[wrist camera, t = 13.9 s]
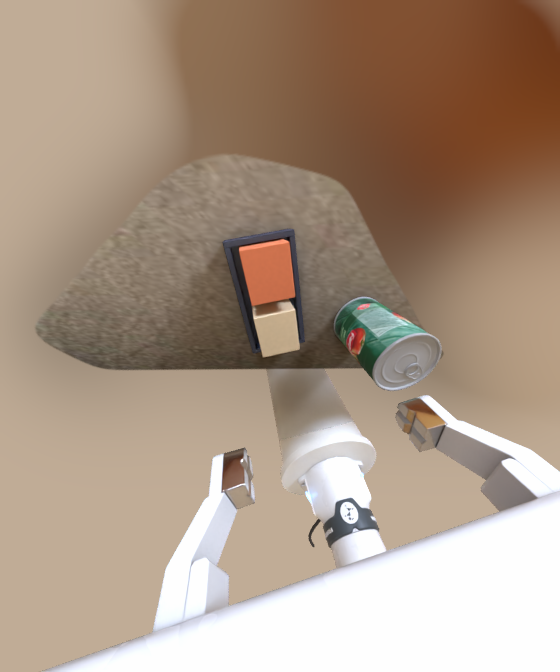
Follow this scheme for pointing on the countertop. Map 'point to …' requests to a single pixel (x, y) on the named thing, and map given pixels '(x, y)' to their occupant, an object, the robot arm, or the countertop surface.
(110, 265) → the countertop surface
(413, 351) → the canned tomato
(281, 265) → the orange block
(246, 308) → the frame
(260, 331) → the cream block
